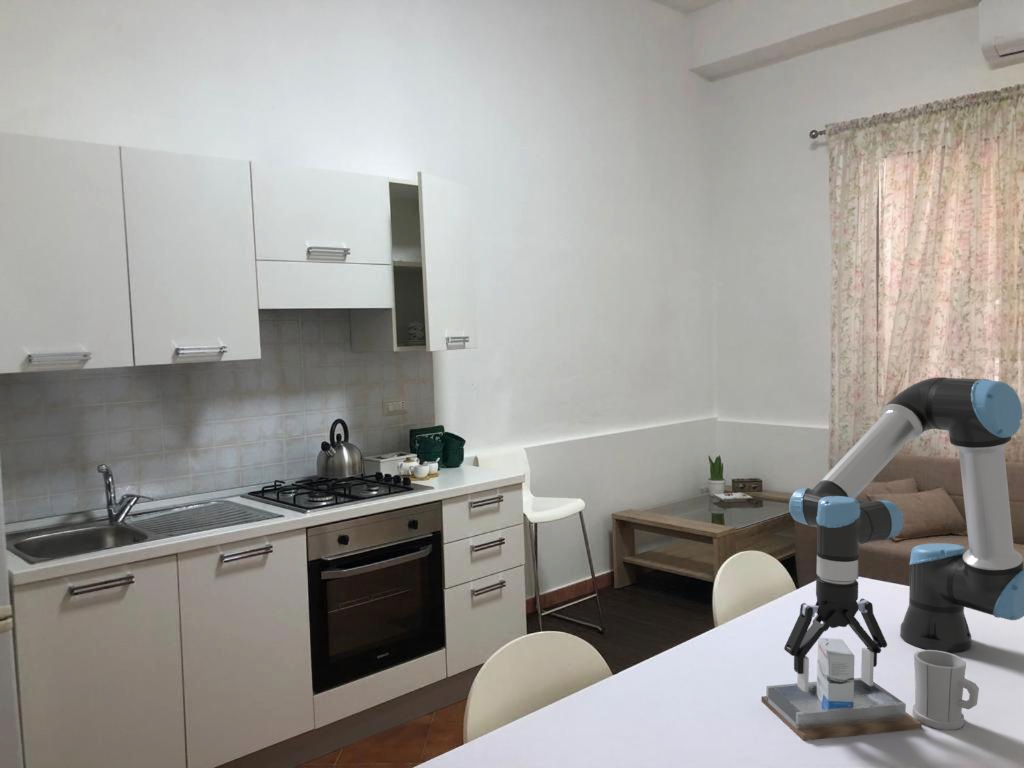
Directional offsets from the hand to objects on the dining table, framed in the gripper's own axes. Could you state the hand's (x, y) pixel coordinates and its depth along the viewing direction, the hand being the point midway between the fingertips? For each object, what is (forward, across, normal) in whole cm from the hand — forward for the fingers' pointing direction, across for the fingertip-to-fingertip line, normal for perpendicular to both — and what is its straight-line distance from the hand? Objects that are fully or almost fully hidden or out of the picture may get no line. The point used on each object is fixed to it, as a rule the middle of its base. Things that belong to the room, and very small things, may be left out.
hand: (835, 686), depth 159 cm
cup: (+6, -19, +6) cm, 21 cm away
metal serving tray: (+6, 0, 0) cm, 6 cm away
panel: (+6, -1, 0) cm, 6 cm away
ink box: (+4, 0, 0) cm, 4 cm away
